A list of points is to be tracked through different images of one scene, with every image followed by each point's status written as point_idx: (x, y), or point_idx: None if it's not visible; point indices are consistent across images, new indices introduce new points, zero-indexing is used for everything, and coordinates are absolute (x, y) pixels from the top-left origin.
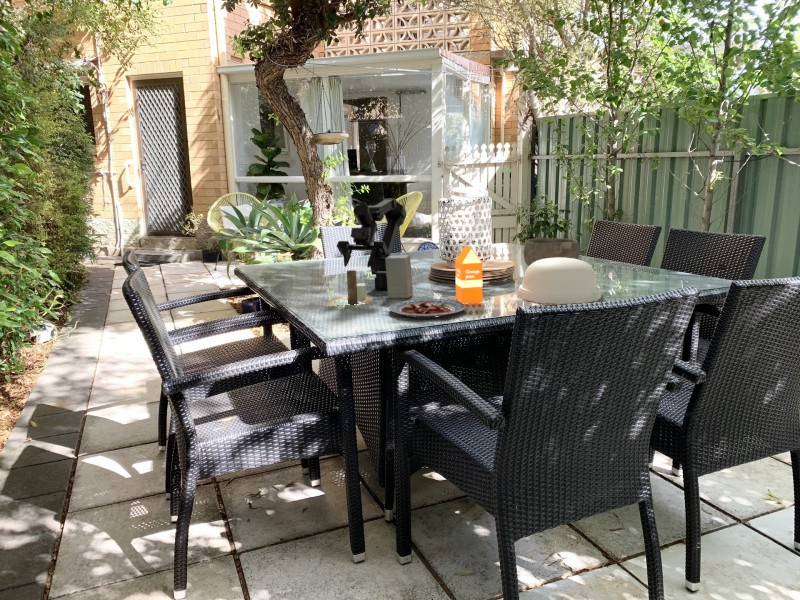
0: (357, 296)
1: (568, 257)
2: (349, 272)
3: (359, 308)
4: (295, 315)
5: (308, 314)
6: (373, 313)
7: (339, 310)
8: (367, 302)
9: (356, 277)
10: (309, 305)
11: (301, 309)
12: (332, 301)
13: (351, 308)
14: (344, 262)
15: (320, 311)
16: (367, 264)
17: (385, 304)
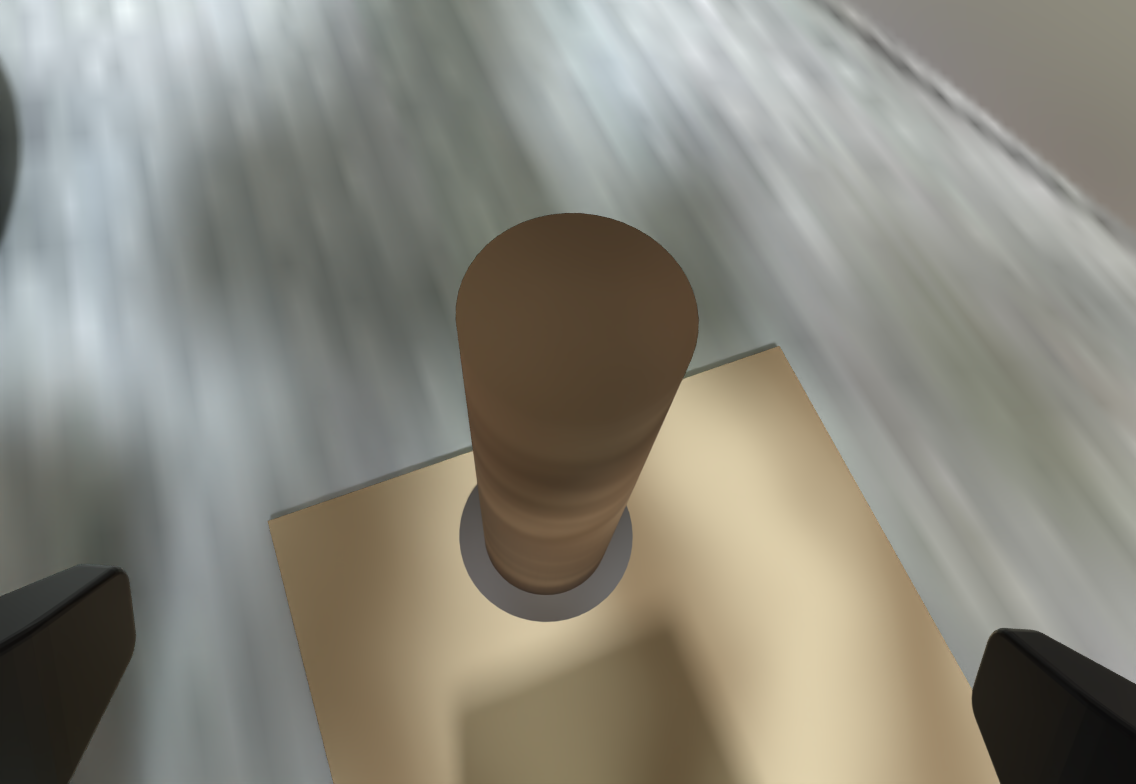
0: None
1: None
2: (584, 223)
3: (393, 339)
4: (884, 39)
5: (795, 75)
6: (185, 157)
7: None
8: (369, 648)
9: (468, 410)
10: (1038, 411)
11: (988, 232)
12: (886, 638)
13: None
14: (1112, 683)
15: (752, 179)
16: (92, 583)
17: None
